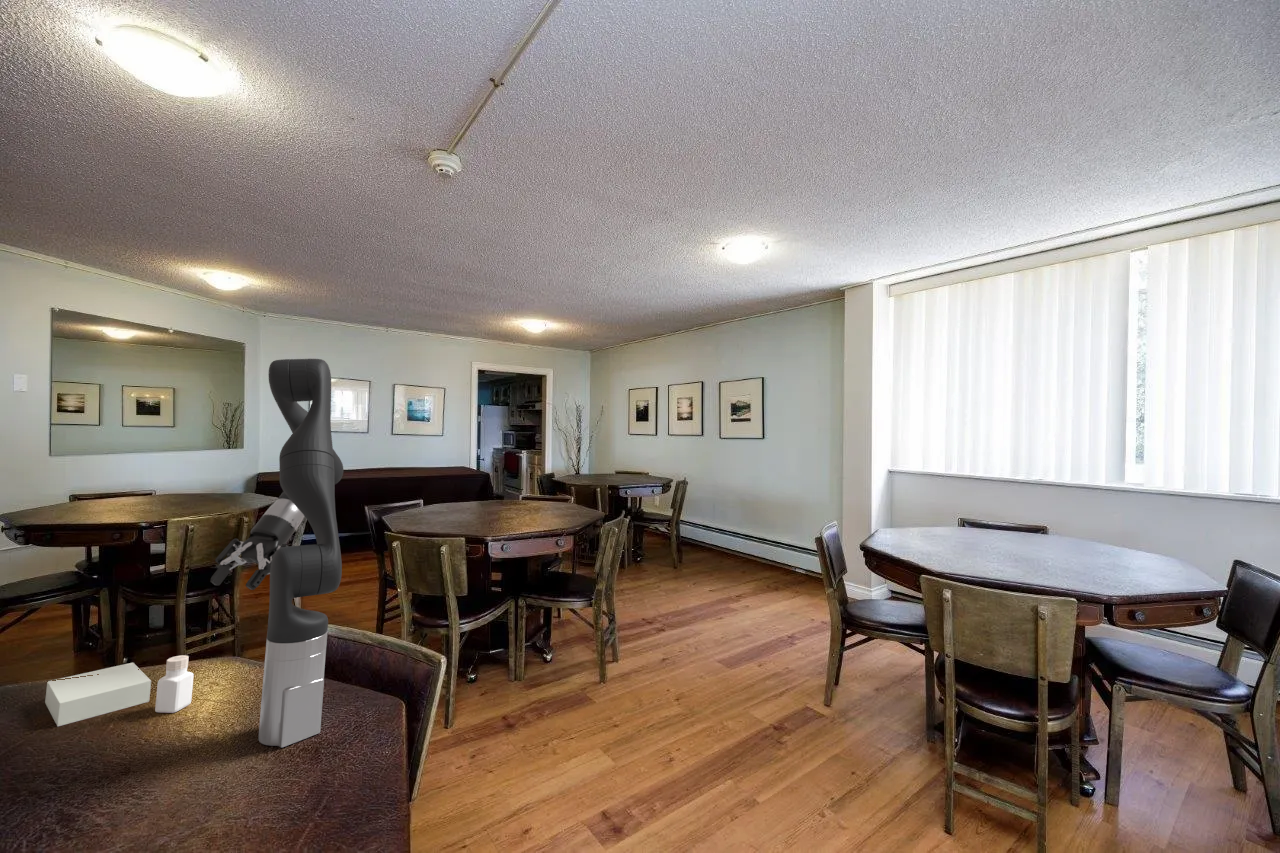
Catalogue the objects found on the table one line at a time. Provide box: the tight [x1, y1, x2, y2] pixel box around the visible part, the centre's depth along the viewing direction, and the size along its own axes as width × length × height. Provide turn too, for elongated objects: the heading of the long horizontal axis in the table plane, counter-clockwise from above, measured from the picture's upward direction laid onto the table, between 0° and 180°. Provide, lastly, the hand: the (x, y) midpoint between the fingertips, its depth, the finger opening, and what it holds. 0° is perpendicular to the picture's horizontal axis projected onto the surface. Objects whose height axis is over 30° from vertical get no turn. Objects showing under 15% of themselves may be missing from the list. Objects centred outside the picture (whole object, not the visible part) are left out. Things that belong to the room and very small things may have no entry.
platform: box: [44, 662, 152, 727], centre depth 99 cm, size 14×12×4 cm
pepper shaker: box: [154, 654, 195, 714], centre depth 98 cm, size 4×4×10 cm
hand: (231, 585), depth 109 cm, fingers open, 8 cm apart
